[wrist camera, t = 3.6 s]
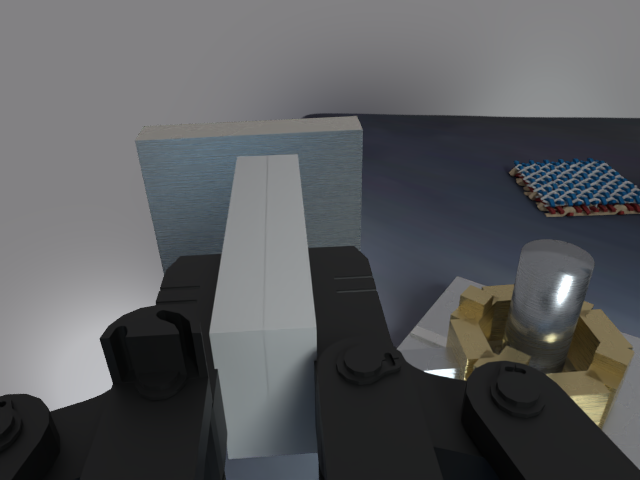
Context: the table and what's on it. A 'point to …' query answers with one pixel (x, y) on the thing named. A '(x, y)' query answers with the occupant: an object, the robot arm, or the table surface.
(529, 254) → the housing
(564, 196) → the woven mat
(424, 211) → the table surface
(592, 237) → the table surface
